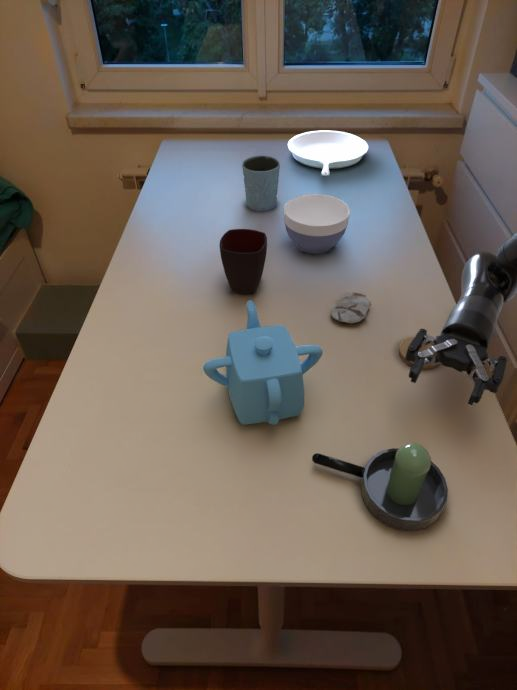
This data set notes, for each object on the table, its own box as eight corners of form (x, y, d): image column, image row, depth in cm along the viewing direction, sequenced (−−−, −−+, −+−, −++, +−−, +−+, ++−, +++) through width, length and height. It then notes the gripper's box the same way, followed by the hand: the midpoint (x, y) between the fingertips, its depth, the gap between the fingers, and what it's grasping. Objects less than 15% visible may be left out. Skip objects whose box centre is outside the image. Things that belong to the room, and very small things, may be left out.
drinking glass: (280, 197, 146) (281, 156, 137) (276, 214, 138) (277, 172, 130) (246, 195, 147) (245, 154, 138) (240, 211, 139) (239, 170, 131)
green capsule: (420, 482, 76) (436, 441, 69) (416, 510, 73) (432, 470, 66) (388, 473, 77) (401, 431, 70) (383, 499, 74) (395, 459, 67)
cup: (218, 297, 111) (214, 251, 103) (232, 263, 121) (229, 218, 113) (262, 302, 110) (262, 255, 101) (272, 267, 120) (273, 221, 111)
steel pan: (446, 472, 78) (451, 461, 76) (437, 542, 70) (443, 532, 68) (370, 450, 81) (372, 439, 79) (353, 514, 73) (355, 504, 71)
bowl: (358, 251, 124) (363, 216, 118) (301, 267, 119) (304, 232, 113) (325, 222, 135) (328, 188, 128) (271, 236, 130) (272, 202, 123)
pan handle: (367, 472, 77) (369, 466, 76) (365, 481, 76) (366, 475, 74) (313, 455, 79) (314, 449, 78) (310, 464, 78) (311, 458, 77)
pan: (365, 142, 175) (367, 128, 172) (369, 192, 147) (371, 177, 144) (290, 138, 178) (291, 125, 174) (279, 187, 150) (280, 172, 147)
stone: (360, 331, 102) (362, 321, 101) (326, 322, 105) (327, 312, 103) (372, 304, 109) (374, 295, 107) (340, 296, 111) (341, 286, 109)
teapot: (328, 392, 90) (335, 337, 81) (272, 451, 81) (273, 396, 72) (251, 349, 99) (249, 294, 90) (192, 397, 90) (184, 342, 81)
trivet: (443, 346, 99) (444, 342, 98) (438, 373, 94) (440, 369, 93) (402, 336, 101) (403, 332, 101) (395, 362, 96) (396, 359, 95)
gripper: (433, 296, 84) (400, 354, 74) (522, 324, 79) (500, 391, 69) (423, 329, 89) (391, 388, 79) (506, 358, 84) (484, 425, 74)
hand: (442, 389), depth 74 cm, fingers open, 8 cm apart
